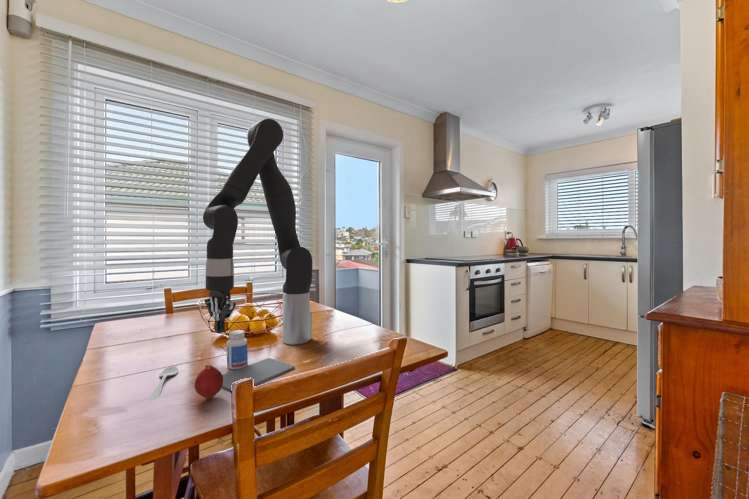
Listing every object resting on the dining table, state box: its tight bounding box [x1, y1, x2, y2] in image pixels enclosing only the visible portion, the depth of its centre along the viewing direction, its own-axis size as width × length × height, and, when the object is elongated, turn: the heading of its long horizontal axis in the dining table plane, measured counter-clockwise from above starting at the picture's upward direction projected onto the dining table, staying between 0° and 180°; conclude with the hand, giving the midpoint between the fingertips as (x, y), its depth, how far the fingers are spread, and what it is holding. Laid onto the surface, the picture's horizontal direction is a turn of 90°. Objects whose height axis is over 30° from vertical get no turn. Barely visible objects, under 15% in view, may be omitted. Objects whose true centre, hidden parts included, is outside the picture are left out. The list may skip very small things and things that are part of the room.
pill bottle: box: [226, 329, 249, 370], centre depth 92 cm, size 6×5×10 cm
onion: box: [194, 363, 224, 400], centre depth 73 cm, size 6×6×8 cm
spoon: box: [148, 365, 179, 402], centre depth 80 cm, size 4×21×2 cm, turn 19°
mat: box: [221, 357, 296, 393], centre depth 86 cm, size 18×11×1 cm, turn 146°
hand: (219, 332), depth 96 cm, fingers closed
